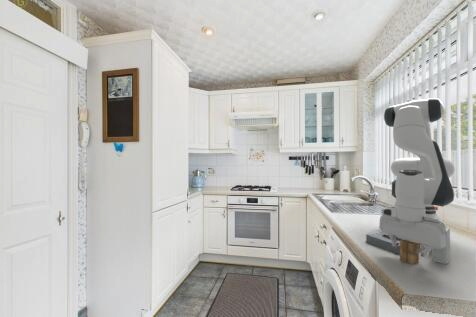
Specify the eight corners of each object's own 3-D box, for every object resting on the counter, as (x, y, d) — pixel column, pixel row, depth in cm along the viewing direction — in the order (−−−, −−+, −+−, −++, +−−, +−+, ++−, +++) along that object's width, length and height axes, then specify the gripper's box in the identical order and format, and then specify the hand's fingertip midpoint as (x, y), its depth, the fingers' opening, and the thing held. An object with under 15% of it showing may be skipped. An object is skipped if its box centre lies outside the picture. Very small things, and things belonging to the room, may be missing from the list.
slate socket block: (386, 237, 104) (386, 231, 104) (420, 248, 91) (420, 241, 91) (366, 241, 98) (366, 234, 98) (399, 254, 86) (399, 245, 86)
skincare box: (434, 256, 84) (435, 225, 85) (450, 260, 81) (450, 227, 81) (431, 260, 81) (431, 227, 81) (447, 264, 77) (447, 230, 77)
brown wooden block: (408, 257, 83) (408, 238, 83) (420, 261, 79) (420, 242, 79) (398, 259, 80) (398, 240, 81) (410, 264, 77) (410, 244, 77)
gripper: (450, 220, 72) (450, 262, 72) (387, 207, 90) (386, 241, 90) (440, 222, 69) (439, 265, 69) (377, 208, 88) (376, 243, 88)
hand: (409, 251), depth 80 cm, fingers open, 8 cm apart
